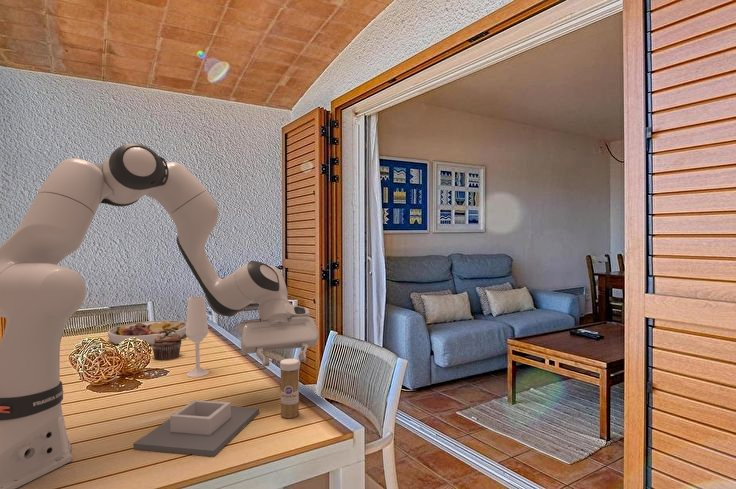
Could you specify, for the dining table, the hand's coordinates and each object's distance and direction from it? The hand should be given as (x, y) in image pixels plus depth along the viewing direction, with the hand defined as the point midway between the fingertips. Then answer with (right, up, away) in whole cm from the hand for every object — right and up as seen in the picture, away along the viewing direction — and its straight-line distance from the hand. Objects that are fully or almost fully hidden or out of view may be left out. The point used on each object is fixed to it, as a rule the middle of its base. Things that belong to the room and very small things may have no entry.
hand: (284, 362), depth 116 cm
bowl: (-70, -10, +75) cm, 103 cm away
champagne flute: (-33, -11, +28) cm, 45 cm away
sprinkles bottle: (+2, -12, -4) cm, 13 cm away
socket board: (-17, -12, -12) cm, 24 cm away
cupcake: (-51, -10, +47) cm, 70 cm away
